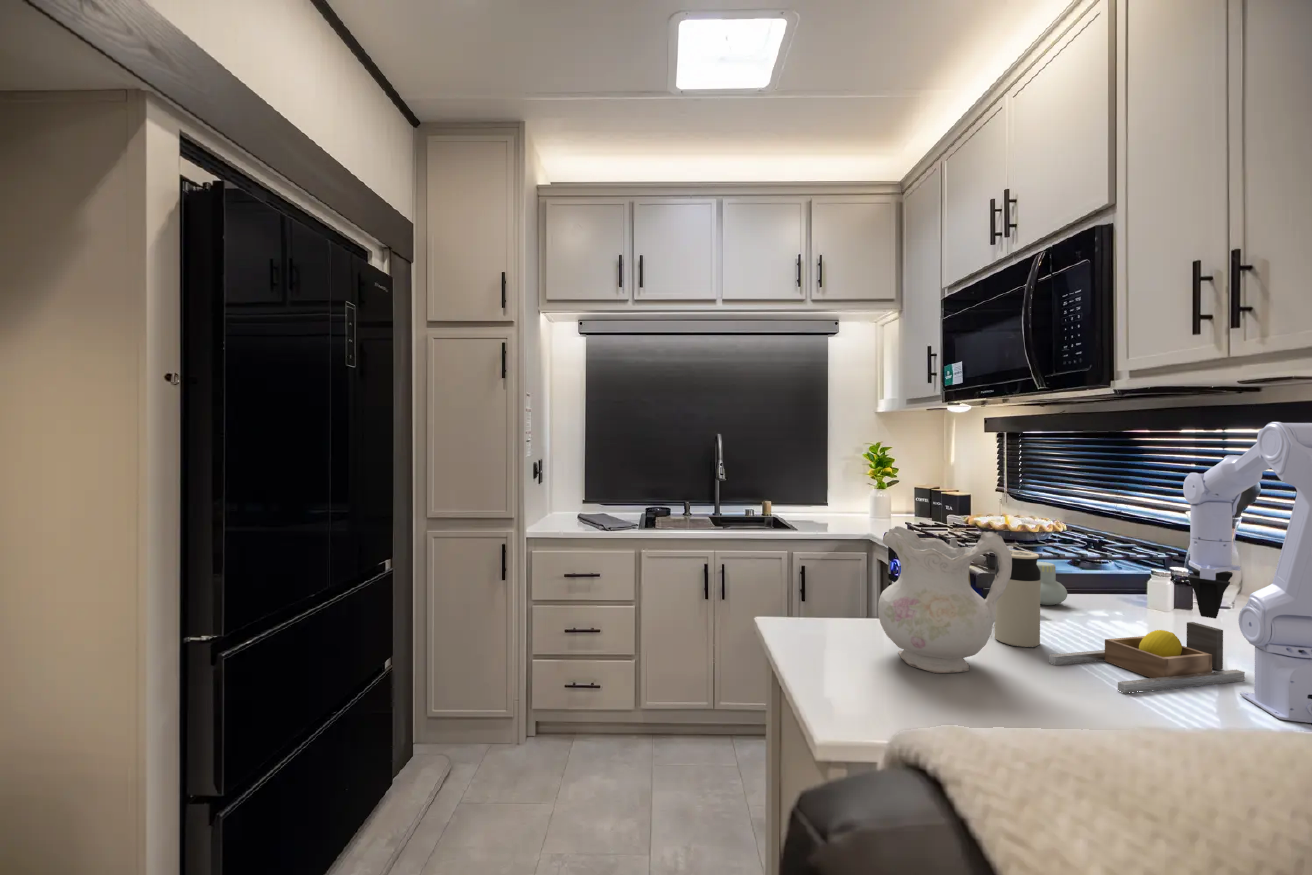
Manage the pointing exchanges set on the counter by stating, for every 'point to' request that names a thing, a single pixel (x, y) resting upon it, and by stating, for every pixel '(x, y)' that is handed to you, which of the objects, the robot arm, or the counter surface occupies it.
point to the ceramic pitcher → (940, 600)
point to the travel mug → (1020, 603)
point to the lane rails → (1152, 683)
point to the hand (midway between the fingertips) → (1210, 613)
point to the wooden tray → (1194, 658)
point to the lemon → (1161, 643)
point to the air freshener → (1050, 585)
